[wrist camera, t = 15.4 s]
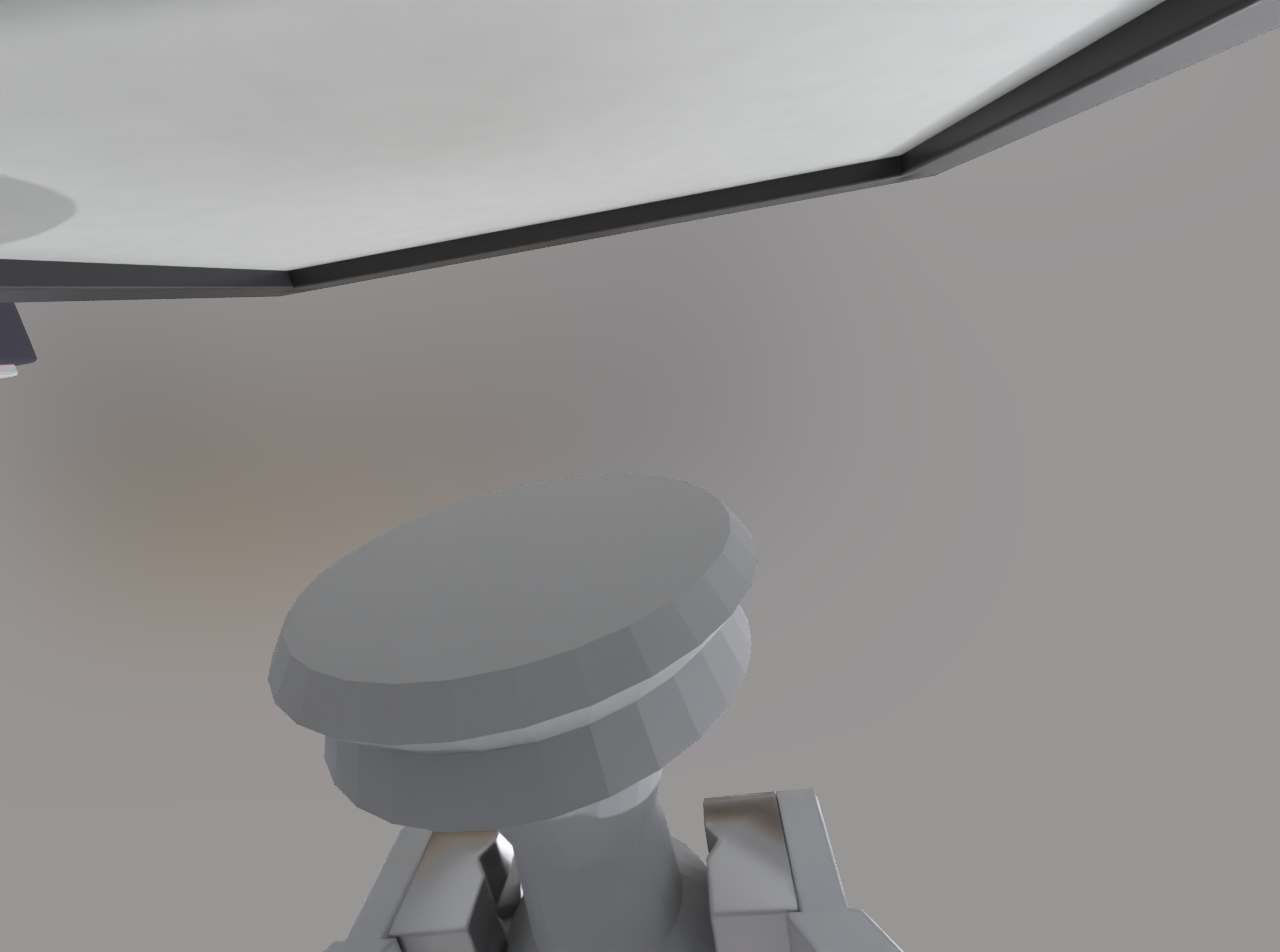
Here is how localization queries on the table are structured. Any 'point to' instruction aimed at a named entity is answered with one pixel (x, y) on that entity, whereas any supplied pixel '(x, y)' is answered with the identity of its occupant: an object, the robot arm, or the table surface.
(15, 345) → the calculator
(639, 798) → the chess piece
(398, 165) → the whiteboard
